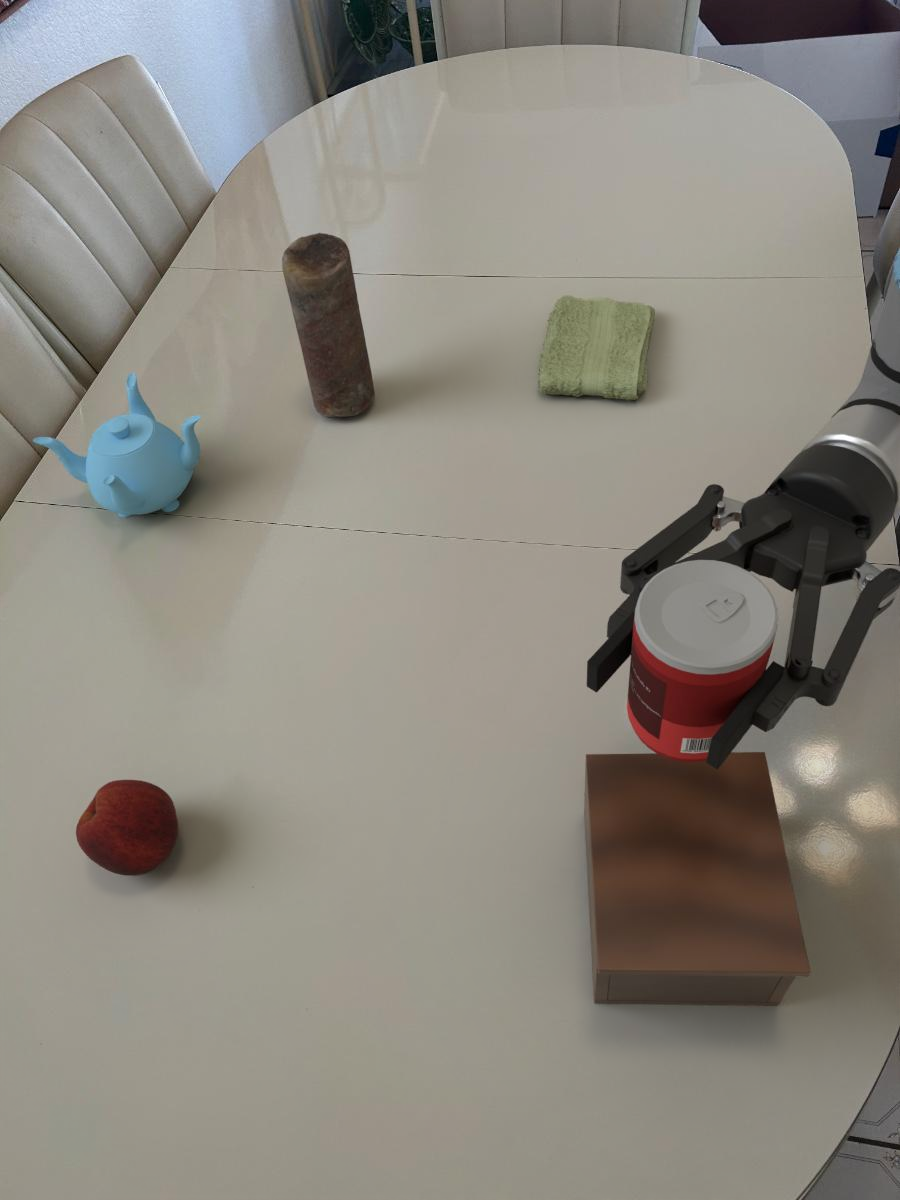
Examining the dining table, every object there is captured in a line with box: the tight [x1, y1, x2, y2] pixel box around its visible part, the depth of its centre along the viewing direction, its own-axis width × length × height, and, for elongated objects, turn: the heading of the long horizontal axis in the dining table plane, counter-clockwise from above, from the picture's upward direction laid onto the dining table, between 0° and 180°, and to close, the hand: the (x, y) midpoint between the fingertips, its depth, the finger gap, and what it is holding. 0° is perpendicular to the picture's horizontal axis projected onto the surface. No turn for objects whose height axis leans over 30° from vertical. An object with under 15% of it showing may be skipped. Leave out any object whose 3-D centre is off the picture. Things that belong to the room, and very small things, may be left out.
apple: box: [75, 779, 179, 877], centre depth 75 cm, size 7×8×8 cm
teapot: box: [32, 372, 202, 518], centre depth 101 cm, size 13×13×10 cm
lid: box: [585, 751, 811, 978], centre depth 63 cm, size 16×13×1 cm
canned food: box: [626, 560, 779, 762], centre depth 56 cm, size 8×8×11 cm
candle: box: [281, 232, 376, 418], centre depth 103 cm, size 8×7×20 cm
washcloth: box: [537, 294, 656, 402], centre depth 111 cm, size 13×18×3 cm
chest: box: [583, 765, 796, 1007], centre depth 67 cm, size 15×13×9 cm
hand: (651, 714), depth 54 cm, fingers closed on canned food, 8 cm apart
